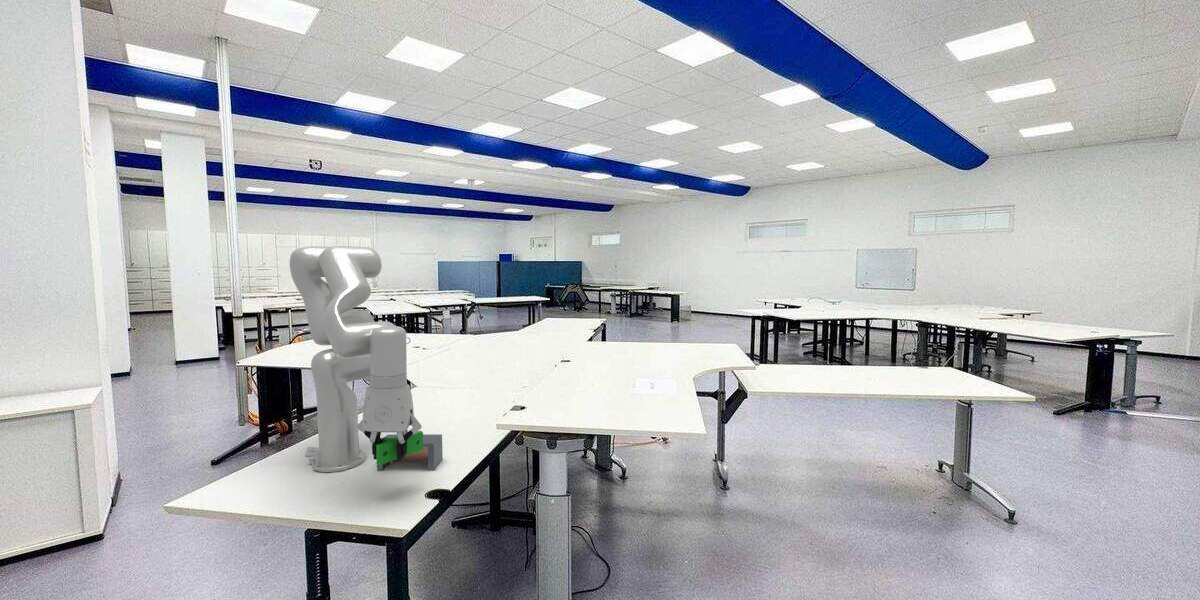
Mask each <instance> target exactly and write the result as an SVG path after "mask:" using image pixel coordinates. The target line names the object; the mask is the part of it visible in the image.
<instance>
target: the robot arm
mask: <svg viewBox="0 0 1200 600" xmlns="http://www.w3.org/2000/svg"><path fill="white" fill-rule="evenodd" d="M382 266H383V265H382V259H381V257H380V255H379V253H378V252H377V250H375V249H374V248H372V247H370V246H368V247H367V246H354V245H353V246H351V245H350V246H348V245H347V246H346V245H335V246H321V245H320V246H317V245H316V246H304V247H300V248H297V249H295V250H293V251H292V253H291V254H290V258H289V271H290V274H291V275H290V276H291V278H292V281H293V283H294V286H295V288H296V289H297V290H298V292H299V294H300V296H301V298H302V300H303V304H304V308H305V313H306V319H307V323H308V324H307V325H308V328H309V332H310V335H311V338H312V341H313V342H314V343H315V344H316V345H318V346H331V347H332V348H327V349H324V350H321V351H319V352H317V353H316V354H314V356H312V359H311V361H310V369H311V374H312V377H313V382H314V387H315V396H316V409H317V410H316V411H317V412H316V413H317V431H318V432H317V435H318V438H317V439H318V447H316V446H308V447H307V449H306V451H305V457H306V458H314V461H312V469H313V470H314V471H316V472H320V473H333V472H341V471H346V470H349V469H352V468H355V467H357V466H359V465H361V464H362V463H364V461H366V453H365V452H364V451H363V450H360V442H359V441H360V439H359V436H360V435H359V432H361V433H363V434H364V436H366V437H367V438H368V439H369V443H370V444H371V453H372V455H373V460H375V461H377V460H376V445H378V444H381V443H383V439H382V438H383V437H382V436H381V435H382V433H396V435H398V439H399V443H398V444H397V460H401V459H402V458H403V457H404V456H405V455H406V454H407V439H408V438H410V437H411V436H412V435H413V434H415V433H416V432H417V431H421V429H422V425H421V423H420V422H419V421H418V419H417V418H416V416H415V412H414V402H413V394H412V390H411V387H410V386H411V385H410V384H408V383H407V382H408V381H407V380H408V378H407V377H408V376H407V375H408V374H407V372H408V370H407V369H408V367H407V366H408V365H407V364H408V363H407V360H408V359H407V332H406V329H404V328H403V327H401V326H397V325H395V324H394V323H392V322H390V321H386V320H385V321H384V320H383V321H375V320H374V318H373V316H372V314H371V313H370V312H369V311H367V310H365V309H363V308H357V309H356V307H358V306H361V305H362V304H364V303H365V302H366V301H367V300H368V299H369V298H370V296H371V294H372V289H371V286H370V283H369V282H368V279H371V278H372V279H373V278H376V277H378V276H379V275H380V273H381V272H382ZM322 278H325V280H324V279H322ZM359 380H364V381H366V382H369V386H367V387H366V390H365V395H364V399H363V407H362V408H363V409H362V419H361V421H360V422H359V411H358V410H359V409H358V396H357V394H356V393H355V392H354V391H353V390H352V389H351V388H350V387H349V386H348V385H347V383H350V382H354V381H355V382H356V381H359ZM410 426H411V427H412V428H411V429H409V427H410ZM408 429H409V430H408Z"/></svg>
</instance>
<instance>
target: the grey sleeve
mask: <svg viewBox="0 0 1200 600" xmlns="http://www.w3.org/2000/svg"><path fill="white" fill-rule="evenodd" d="M385 437H386V438H394V437H398V435H397V434H386V435H385V436H384V437H383V438H385ZM416 442H417V441H416ZM443 459H444V458H443V434H434V433H433V434H429V433H428V434H424V433H423V449H422V450H420V451H417V452H414V453H412V454H409V455H406V456H404V457H403V458H402V459H401V460H397V459H395V460H393V461H390V462H387V463H385V464H382V465H377V464H376V471H377V472H383V471H384V470H386V468H387V467H388V466H390V465H391V463H428V464H427V465H428V466H427V467H428V471H429V472H430V471H433V472H434V471H436V470H437V468H438V466H439V465H440V464H441V463H442V462H443Z"/></svg>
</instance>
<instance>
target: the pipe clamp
mask: <svg viewBox="0 0 1200 600" xmlns="http://www.w3.org/2000/svg"><path fill="white" fill-rule="evenodd" d="M423 434H424V431H422V430H419V431H417V432H416V433H415V434H413V435H412V436H411V437H410V438H408V439H407V454H406V455H409V454H412V453H414V452H417V451H420V450H422V449H423ZM384 437H385V436H384ZM384 437H381V438H382V439H383V443H381V444H378V445H376V460H375V461H376V466H377V465H382V464H385V463H387V462H390V461H393V460H395V459H397V444H398V443H399V439H398V437H394V438H386V437H385V438H384ZM416 441H417V442H416ZM406 455H405V456H406Z"/></svg>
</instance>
